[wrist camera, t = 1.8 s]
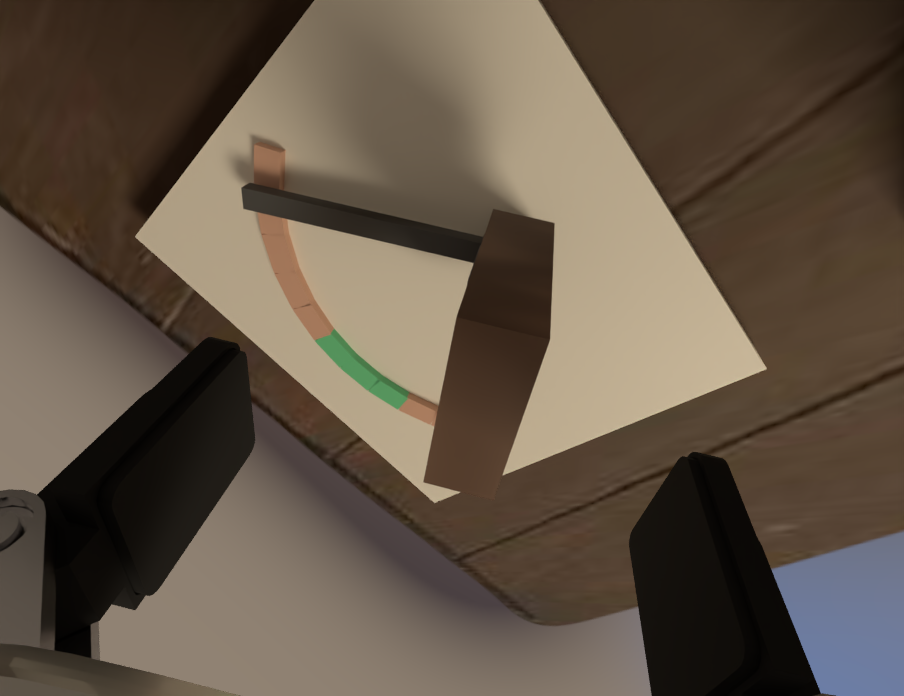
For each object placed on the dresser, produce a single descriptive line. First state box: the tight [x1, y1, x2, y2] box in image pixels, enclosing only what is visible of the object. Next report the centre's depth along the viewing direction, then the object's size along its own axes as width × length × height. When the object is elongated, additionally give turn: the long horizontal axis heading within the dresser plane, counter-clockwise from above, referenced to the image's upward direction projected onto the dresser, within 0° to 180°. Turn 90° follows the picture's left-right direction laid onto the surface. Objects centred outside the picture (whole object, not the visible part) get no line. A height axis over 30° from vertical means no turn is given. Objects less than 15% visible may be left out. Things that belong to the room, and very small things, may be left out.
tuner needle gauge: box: [241, 183, 555, 500], centre depth 15 cm, size 11×5×9 cm, turn 80°
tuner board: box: [135, 0, 767, 503], centre depth 21 cm, size 18×20×2 cm
